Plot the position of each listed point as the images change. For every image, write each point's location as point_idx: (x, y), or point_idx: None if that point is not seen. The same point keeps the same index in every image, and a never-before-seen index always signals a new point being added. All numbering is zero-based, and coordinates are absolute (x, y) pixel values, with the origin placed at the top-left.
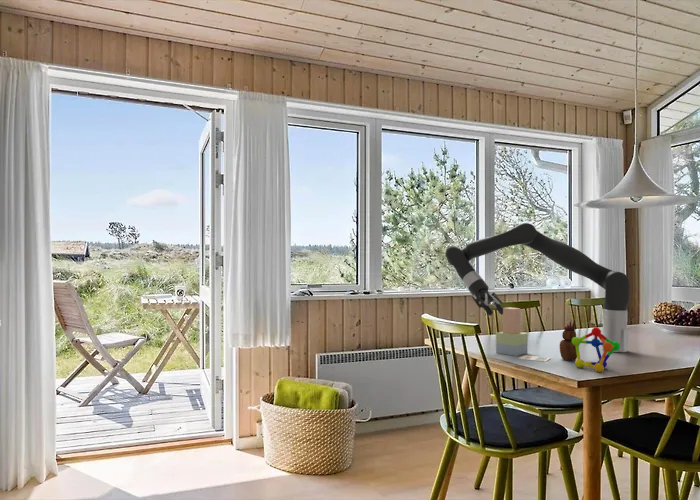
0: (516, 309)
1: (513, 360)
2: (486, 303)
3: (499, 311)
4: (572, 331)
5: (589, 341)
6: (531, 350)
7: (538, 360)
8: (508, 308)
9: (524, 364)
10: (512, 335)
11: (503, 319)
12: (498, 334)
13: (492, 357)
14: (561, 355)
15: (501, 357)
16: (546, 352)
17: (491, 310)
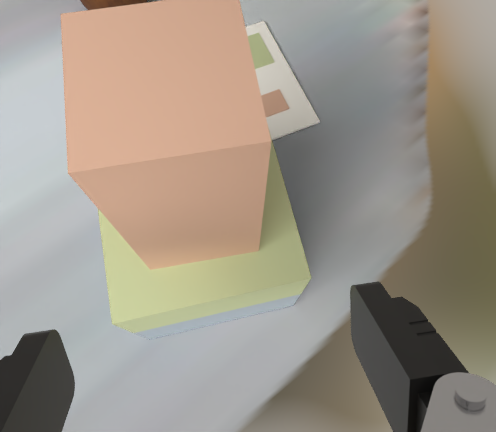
0: (179, 5)
1: (374, 108)
2: (473, 402)
3: (55, 423)
4: None
5: None
6: (20, 252)
7: (273, 45)
8: (235, 76)
9: (396, 32)
10: (272, 146)
11: (261, 203)
12: (304, 261)
13: (423, 211)
14: (145, 1)
15: (374, 188)
16: (12, 166)
17: (379, 300)
